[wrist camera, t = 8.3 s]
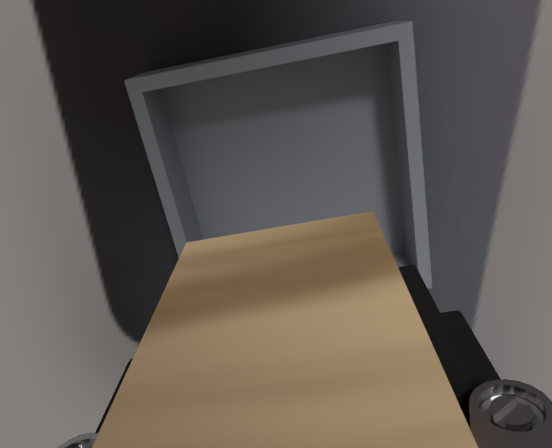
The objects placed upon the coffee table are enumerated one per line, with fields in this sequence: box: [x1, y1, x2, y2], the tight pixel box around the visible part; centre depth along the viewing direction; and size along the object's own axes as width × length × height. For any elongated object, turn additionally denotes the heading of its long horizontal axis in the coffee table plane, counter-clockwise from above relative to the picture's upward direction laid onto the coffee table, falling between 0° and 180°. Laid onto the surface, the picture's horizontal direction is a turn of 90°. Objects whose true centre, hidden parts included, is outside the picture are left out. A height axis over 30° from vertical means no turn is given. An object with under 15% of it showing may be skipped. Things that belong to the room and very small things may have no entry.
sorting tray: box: [124, 21, 432, 289], centre depth 23 cm, size 12×12×4 cm
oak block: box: [92, 211, 478, 448], centre depth 10 cm, size 5×5×8 cm
